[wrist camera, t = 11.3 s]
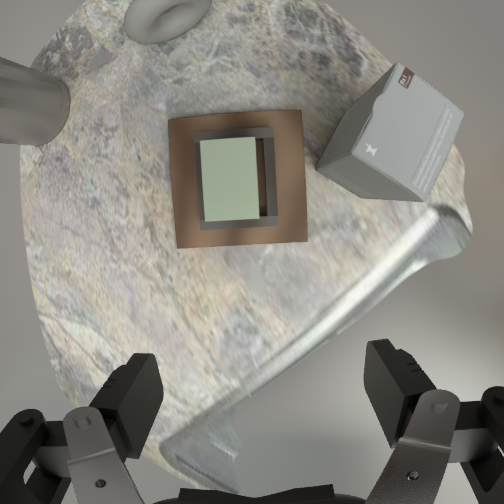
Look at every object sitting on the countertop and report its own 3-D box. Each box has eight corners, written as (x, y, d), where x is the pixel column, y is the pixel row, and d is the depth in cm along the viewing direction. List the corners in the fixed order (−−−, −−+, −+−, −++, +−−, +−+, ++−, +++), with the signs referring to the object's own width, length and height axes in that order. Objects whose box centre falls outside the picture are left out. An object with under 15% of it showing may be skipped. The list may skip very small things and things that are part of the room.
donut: (148, 60, 31) (115, 28, 21) (136, 42, 30) (103, 7, 21) (222, 18, 30) (212, -27, 20) (208, 0, 29) (195, -46, 19)
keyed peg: (216, 151, 32) (199, 140, 22) (255, 149, 32) (255, 136, 22) (220, 208, 33) (205, 221, 24) (258, 206, 33) (259, 218, 24)
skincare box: (360, 198, 34) (430, 216, 19) (306, 165, 34) (346, 157, 18) (393, 137, 33) (475, 118, 17) (341, 103, 32) (399, 56, 17)
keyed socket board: (180, 245, 36) (171, 253, 32) (171, 122, 33) (161, 115, 29) (305, 238, 35) (311, 246, 32) (299, 112, 32) (304, 104, 28)
